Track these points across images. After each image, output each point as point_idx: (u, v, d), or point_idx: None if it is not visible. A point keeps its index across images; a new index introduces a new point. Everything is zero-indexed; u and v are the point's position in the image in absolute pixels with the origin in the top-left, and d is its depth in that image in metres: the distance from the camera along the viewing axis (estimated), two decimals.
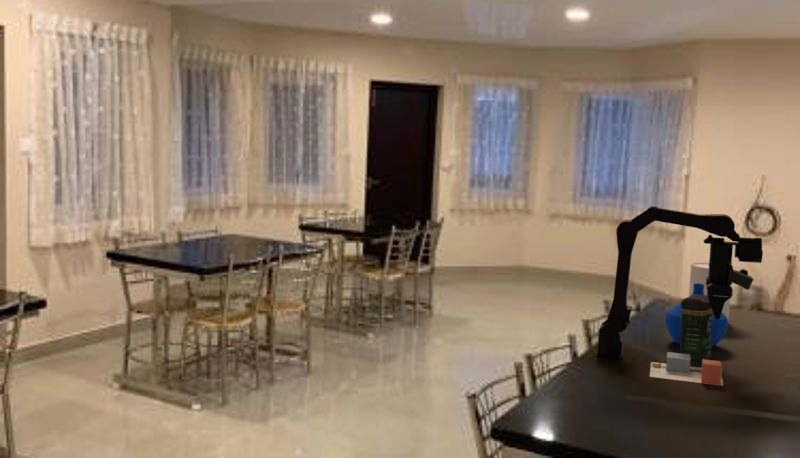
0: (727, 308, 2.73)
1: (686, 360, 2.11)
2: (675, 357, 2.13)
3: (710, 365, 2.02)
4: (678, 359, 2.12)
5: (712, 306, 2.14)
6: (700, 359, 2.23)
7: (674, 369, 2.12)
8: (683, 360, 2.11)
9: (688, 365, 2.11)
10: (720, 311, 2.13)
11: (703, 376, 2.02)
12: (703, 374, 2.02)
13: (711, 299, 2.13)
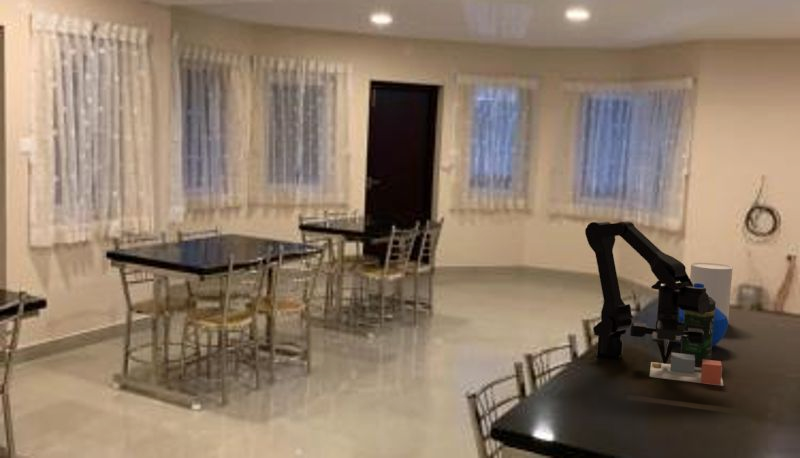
0: (727, 308, 2.73)
1: (690, 361, 2.10)
2: (679, 357, 2.12)
3: (710, 365, 2.02)
4: (682, 360, 2.11)
5: None
6: (700, 360, 2.24)
7: (678, 370, 2.12)
8: (687, 361, 2.11)
9: (692, 366, 2.10)
10: (661, 354, 2.15)
11: (703, 376, 2.02)
12: (703, 374, 2.02)
13: None
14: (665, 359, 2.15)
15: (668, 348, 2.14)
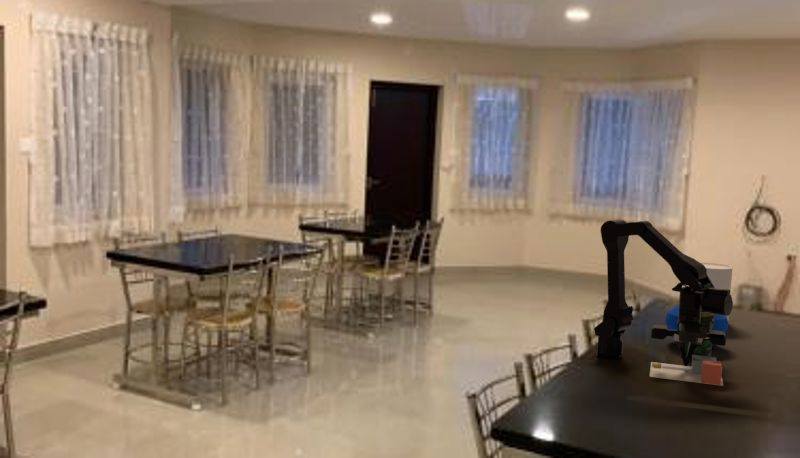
0: None
1: None
2: (701, 360, 2.10)
3: (710, 365, 2.02)
4: None
5: None
6: None
7: (700, 372, 2.10)
8: None
9: None
10: (682, 357, 2.13)
11: (703, 376, 2.02)
12: (703, 374, 2.02)
13: None
14: (686, 362, 2.13)
15: (689, 350, 2.12)
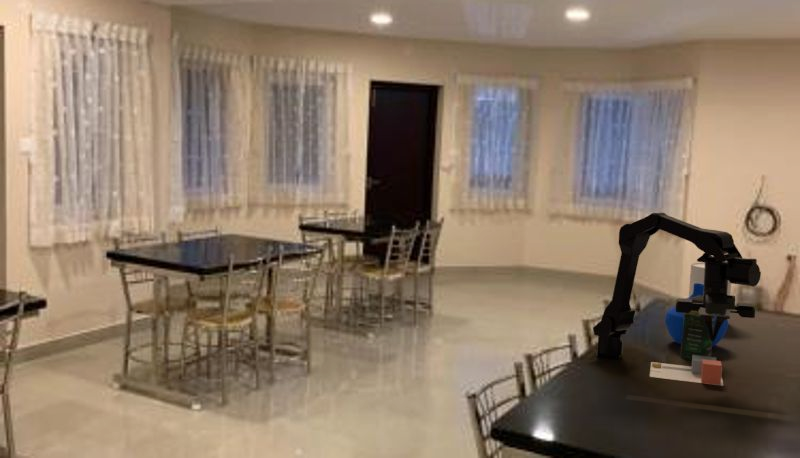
0: None
1: None
2: (701, 360, 2.10)
3: (710, 365, 2.02)
4: None
5: None
6: None
7: (700, 372, 2.10)
8: None
9: None
10: None
11: (703, 376, 2.02)
12: (703, 374, 2.02)
13: None
14: (713, 336, 2.02)
15: (716, 324, 2.01)
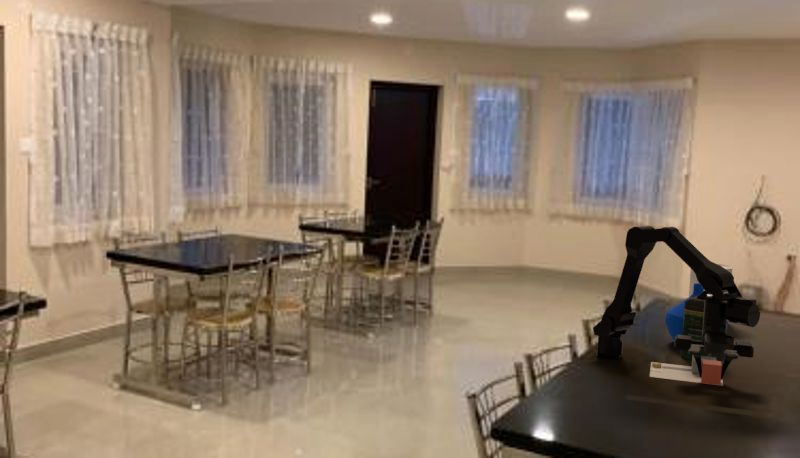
0: None
1: None
2: (701, 360, 2.10)
3: (710, 365, 2.02)
4: None
5: None
6: None
7: None
8: None
9: None
10: None
11: (703, 376, 2.02)
12: (703, 374, 2.02)
13: None
14: (721, 375, 2.02)
15: (724, 363, 2.01)
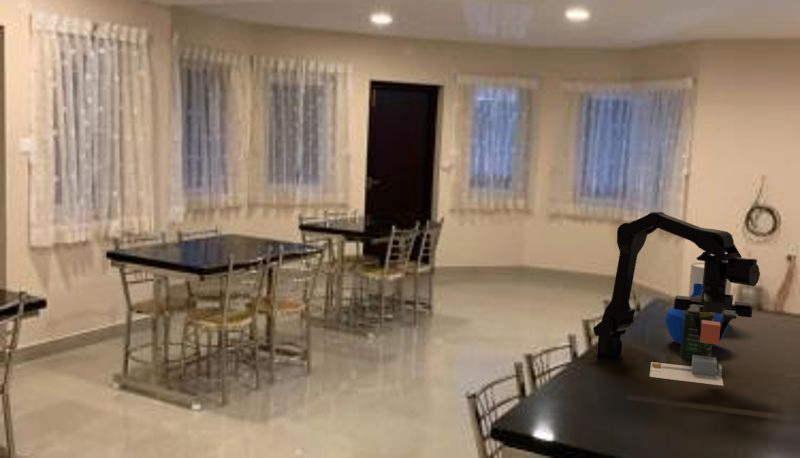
0: None
1: (712, 363, 2.09)
2: (701, 360, 2.10)
3: (709, 325, 2.03)
4: (704, 362, 2.09)
5: None
6: None
7: (700, 372, 2.10)
8: (709, 363, 2.09)
9: (714, 368, 2.09)
10: None
11: (702, 336, 2.04)
12: (702, 334, 2.04)
13: None
14: None
15: (723, 323, 2.03)
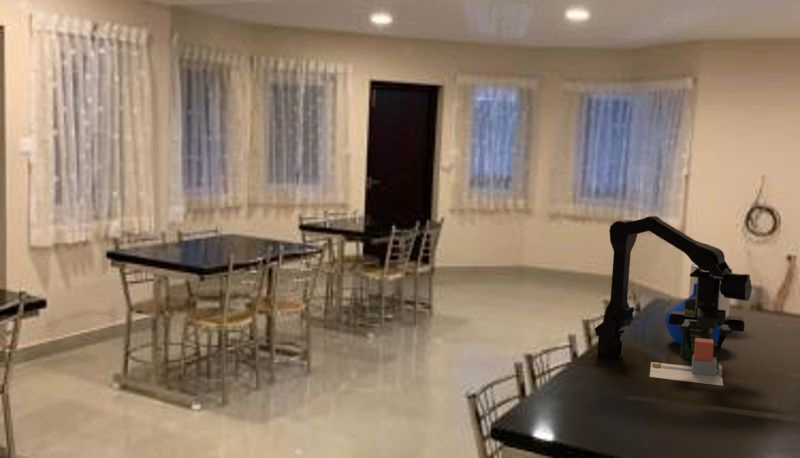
0: (727, 308, 2.73)
1: (712, 363, 2.09)
2: None
3: (702, 343, 2.10)
4: (704, 362, 2.09)
5: None
6: None
7: (700, 372, 2.10)
8: (709, 363, 2.09)
9: (714, 368, 2.09)
10: (687, 342, 2.13)
11: (696, 353, 2.11)
12: (696, 351, 2.11)
13: None
14: (717, 349, 2.10)
15: (720, 338, 2.09)
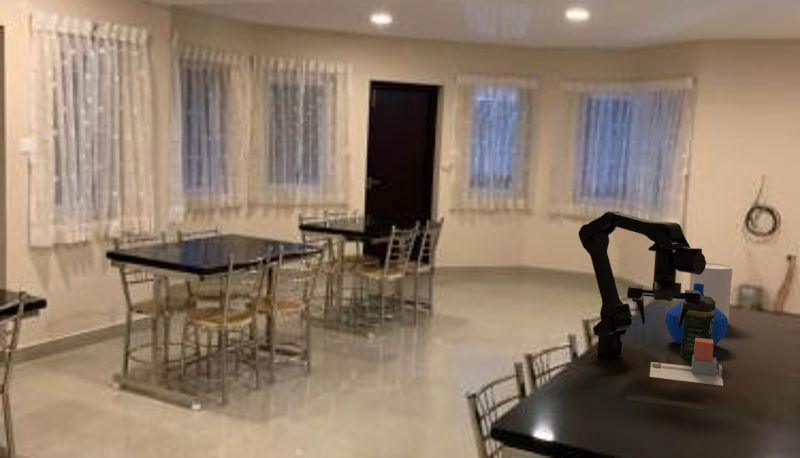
0: (727, 308, 2.73)
1: (712, 363, 2.09)
2: None
3: (702, 343, 2.10)
4: (704, 362, 2.09)
5: None
6: None
7: (700, 372, 2.10)
8: (709, 363, 2.09)
9: (714, 368, 2.09)
10: None
11: (696, 353, 2.11)
12: (696, 351, 2.11)
13: None
14: (679, 323, 2.13)
15: (682, 311, 2.11)
